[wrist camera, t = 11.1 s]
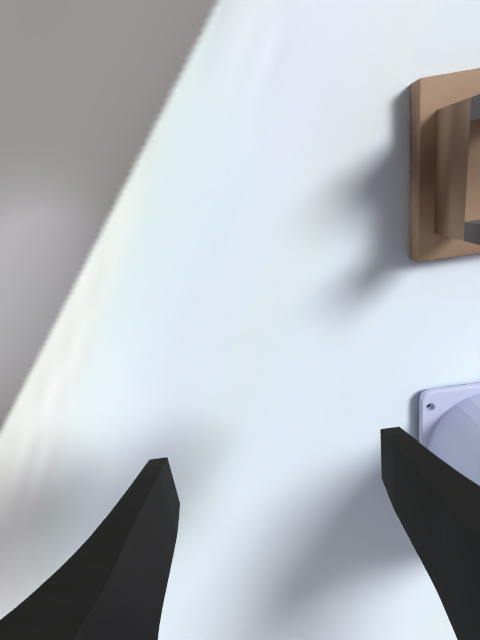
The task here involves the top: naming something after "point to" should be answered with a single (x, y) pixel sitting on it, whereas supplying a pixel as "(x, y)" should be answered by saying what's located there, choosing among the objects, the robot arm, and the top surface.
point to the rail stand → (445, 166)
